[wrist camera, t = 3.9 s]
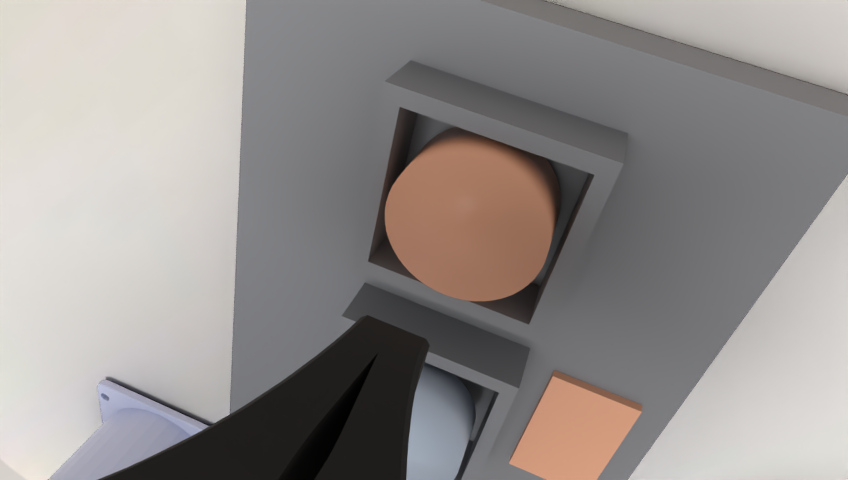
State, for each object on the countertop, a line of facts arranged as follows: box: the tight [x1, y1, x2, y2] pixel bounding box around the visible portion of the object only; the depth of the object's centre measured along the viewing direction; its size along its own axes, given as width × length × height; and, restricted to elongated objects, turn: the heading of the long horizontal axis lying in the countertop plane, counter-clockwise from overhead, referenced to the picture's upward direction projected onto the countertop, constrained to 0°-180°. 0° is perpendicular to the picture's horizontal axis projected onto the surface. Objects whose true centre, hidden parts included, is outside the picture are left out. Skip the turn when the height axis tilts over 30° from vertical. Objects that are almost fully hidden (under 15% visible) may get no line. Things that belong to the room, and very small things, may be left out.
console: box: [230, 0, 848, 480], centre depth 22 cm, size 26×16×4 cm, turn 168°
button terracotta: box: [385, 127, 561, 301], centre depth 17 cm, size 4×4×2 cm
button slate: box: [406, 362, 476, 480], centre depth 20 cm, size 4×4×2 cm
